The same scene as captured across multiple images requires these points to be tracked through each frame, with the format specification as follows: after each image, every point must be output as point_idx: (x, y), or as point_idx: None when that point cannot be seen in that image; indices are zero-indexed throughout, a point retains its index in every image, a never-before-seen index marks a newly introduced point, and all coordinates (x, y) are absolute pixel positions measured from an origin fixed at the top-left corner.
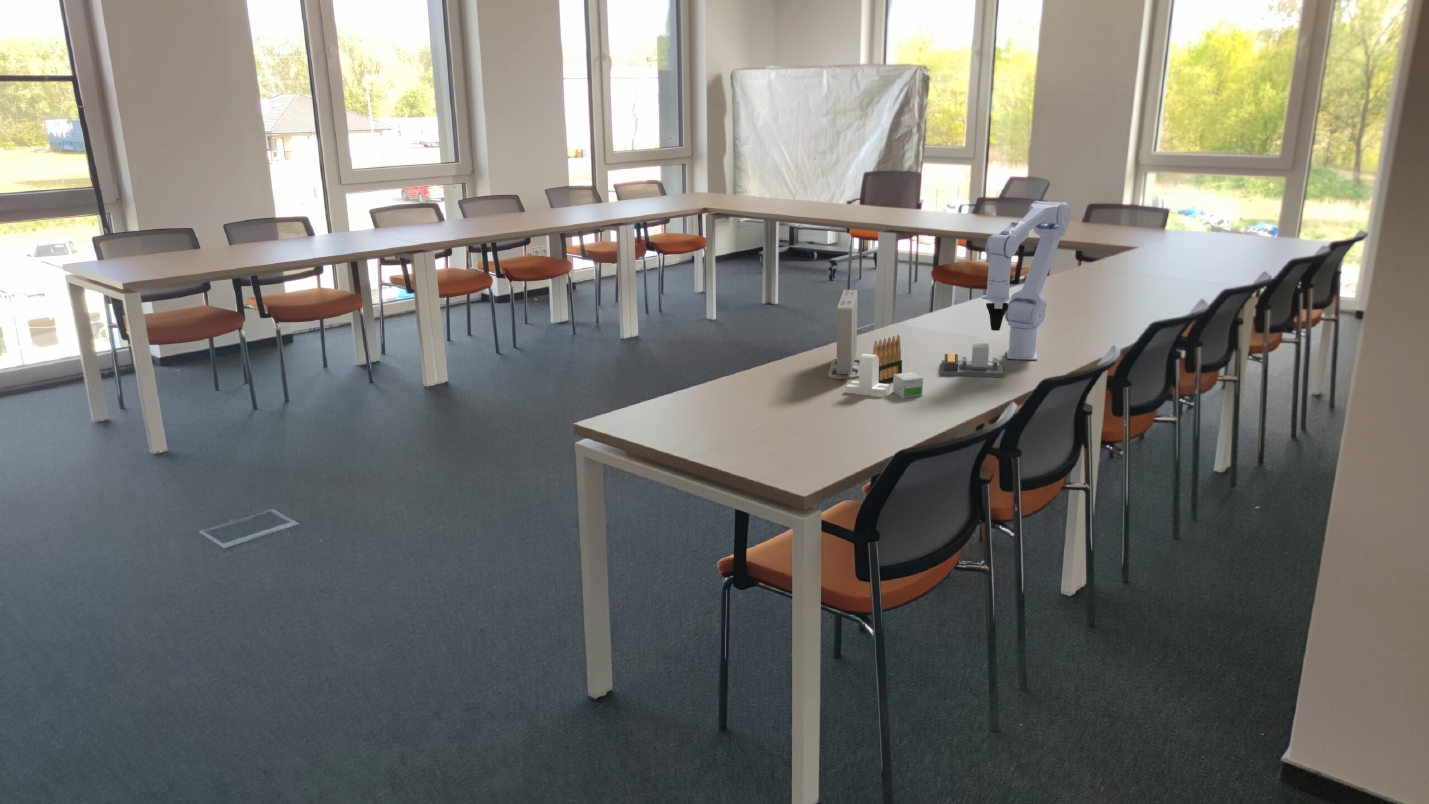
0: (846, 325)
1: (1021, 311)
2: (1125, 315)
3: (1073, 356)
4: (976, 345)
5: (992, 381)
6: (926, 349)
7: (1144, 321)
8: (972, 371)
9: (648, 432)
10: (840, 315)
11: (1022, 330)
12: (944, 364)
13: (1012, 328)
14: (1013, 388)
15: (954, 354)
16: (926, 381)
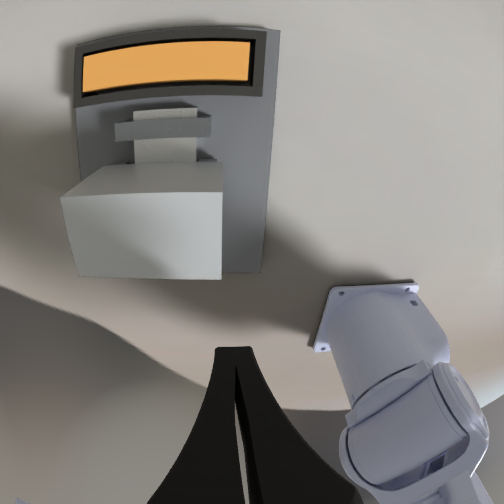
0: None
1: (392, 447)
2: (485, 387)
3: (336, 392)
4: (114, 214)
5: (51, 230)
6: (463, 42)
7: None
8: (92, 164)
9: None
10: None
11: (356, 393)
12: (78, 48)
13: (391, 369)
14: (22, 279)
15: (226, 76)
16: (20, 27)
